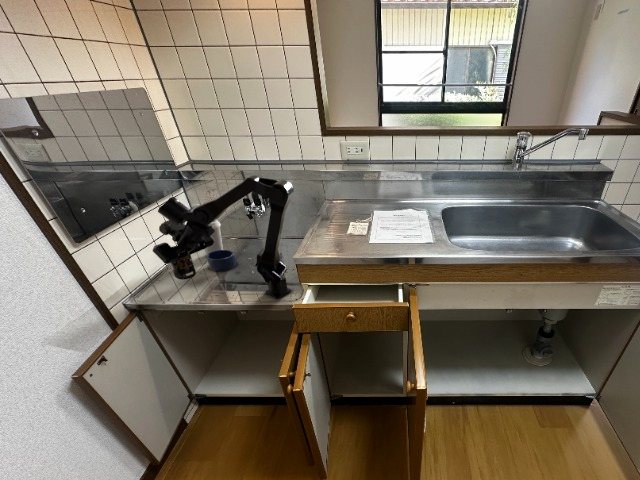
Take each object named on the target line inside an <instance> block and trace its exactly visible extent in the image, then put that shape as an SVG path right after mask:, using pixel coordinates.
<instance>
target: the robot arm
mask: <svg viewBox="0 0 640 480" xmlns="http://www.w3.org/2000/svg"><path fill="white" fill-rule="evenodd" d="M294 191H295V190H294V187H293V184H292V183H291V182H289V180H286V179H278V180H277V179H274V178H267V177H261V176H258V175H249V176H248V177H245V179H243V181H241V182H240V183H238V184H237V185H236V186H233V187H232V188H231V189H229V190H227V191H226V192H224V193H223V194H222V195H220V196H219V197H216V198H213V199H210V200H208V201H205V202H203V203H202V204H199V205H196V206H193V207H191V208H189V207H187V206H186V205H185V204H183V203H182V202H181V201H180V200H179V199H178V198H177V197H175V196H171V197H169V198H168V199H167V201H165V202H164V203H163V204H162V205H160V206H159V207H158V210H157V213H158V214H160V215H161V216H162V217H164V218H165V219H167V220H165V221H163V222H162V223H160V225H159V227H158V231H159V233H161V234H163V235H164V236H168V235H169V236H170V237H172V238H171V240H172V241H173V242H174V243H175V242H176V245H174V246H175V247H173V246H171V245H170V244H169V243H168V242H161V243H159V244H156V245H154V246H153V248H152V252H153V253H154V254H155V255H156V256H157V257H158V258H159V260H160V261H162V263H164V264H166V265H169V264H170V263H172V262H175V261H177V260H180V258H179V253H182V252H184V251H186V252H187V253H188V252H190V254H191V255H194V254H196V253H199V252H200V251H203V250H204V249H206V248H207V247H209V246H212V245H213V243H214V240H213V238H212V237H211V235H212V234H213V233H214V232H215V230H214V229H213V228H212V226H209V225H208V224H210V223H212V222H213V221H215V220H216V219H217V220H218V219H219V218H220V217H221V216H222V215H224V213H225V212H226V211H227V209H228V208H230V207H231V206H233V205H234V204H236V203H237V202H239V201H240V200H242V199H243V198H245V197H247V196H248V195H249V194H252V193H254V194H257V195H259V196H261V197H263V198H265V199H268V204H269V209H270V212H269V218H268V219H269V220H268V226H267V230H266V236H265V237H266V238H265V242H264V243H265V245H264V248H261V250H260V251H259V252H258V253H257V254H256V263H255V265H254V267H256V272H257V273H259V275H261V277H262V278H263V280H264V282H265V283H267V287H268V290H266V291H265V294H267V295H269V296H271V297H273V298H274V299H279V298H281V297H284V296H286V295H287V294H289V293H292V289H290V288H288V283H287V278H286V276H285V274H286V273H287V270H288V267H287V266H286V265H285V264H284V263H283V262H282V261H281V255H280V252H279V249H280V248H279V247H280V243H281V242H280V241H281V236H282V232H283V226H284V220H285V215H286V210H287V208H288V206H290V203H291V200H292V198H293V195H294ZM204 244H205V245H204ZM170 265H171V264H170Z"/></svg>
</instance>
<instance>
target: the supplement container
mask: <svg viewBox="0 0 640 480" xmlns="http://www.w3.org/2000/svg"><path fill="white" fill-rule="evenodd" d="M175 246H176V245H173V246H172V247H175ZM179 258H180V260H177V261H175V262H172V263H170V266H171V270H172V272H173V275H174V278H175V279H177V280H182V281H184V280H189V279H192V278H194V277H195V276H196V275H197V270H196V267H195V264H194V261H193V258H192V254H190V252H188V253H187V252H186V251H184V252H182V253H179Z"/></svg>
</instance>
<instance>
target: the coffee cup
mask: <svg viewBox="0 0 640 480" xmlns="http://www.w3.org/2000/svg"><path fill="white" fill-rule="evenodd" d="M208 225H209V226H212V228H213V229H214V230H215V232H214V233H213V234H212V235H211V237H212V238H213V240H214V243H213V245H212V246H209V247H207V248H206V249H203V250H204V252H205V255H206V256H207V254H208V253H210V252H213V251H217V250H224V246H223V239H222V231H221V226H222V223H221V222H220V221H219V220H218V219H216V220H215V221H213V222H212V223H210V224H208ZM204 245H205V244H204Z"/></svg>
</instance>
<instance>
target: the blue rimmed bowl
mask: <svg viewBox="0 0 640 480" xmlns="http://www.w3.org/2000/svg"><path fill="white" fill-rule="evenodd" d="M206 261H207V264H208V267H209V269H210V271H213V272H224V271H229V270H231V269H234V268H235V267H236V266H237V261H236V256H235V252H234V251H232V250H230V249H223V250H217V251H213V252H210V253H208V254H207V255H206Z"/></svg>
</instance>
